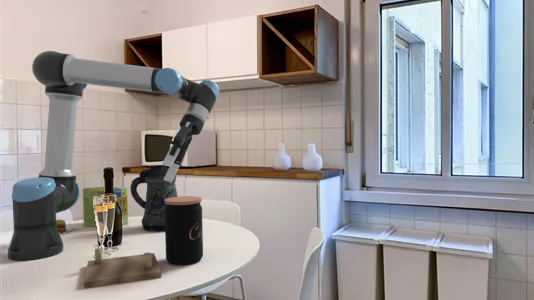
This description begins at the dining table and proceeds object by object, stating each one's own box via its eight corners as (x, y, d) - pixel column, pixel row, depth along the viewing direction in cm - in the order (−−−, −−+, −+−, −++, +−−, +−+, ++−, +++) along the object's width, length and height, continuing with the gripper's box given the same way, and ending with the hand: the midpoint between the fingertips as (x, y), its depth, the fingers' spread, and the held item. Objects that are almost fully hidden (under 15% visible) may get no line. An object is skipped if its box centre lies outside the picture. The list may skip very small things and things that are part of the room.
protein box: (108, 229, 158) (106, 190, 157) (83, 225, 165) (81, 188, 165) (128, 224, 167) (127, 187, 167) (104, 220, 175) (103, 185, 174)
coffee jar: (195, 267, 109) (193, 202, 109) (159, 265, 111) (157, 201, 111) (208, 255, 120) (207, 196, 119) (175, 254, 122) (173, 195, 121)
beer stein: (190, 228, 157) (189, 165, 156) (141, 235, 146) (139, 168, 146) (175, 221, 171) (173, 163, 170) (129, 227, 160) (127, 165, 159)
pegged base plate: (84, 288, 95) (83, 265, 95) (88, 266, 112) (87, 246, 112) (161, 277, 102) (160, 256, 101) (154, 258, 118) (153, 239, 118)
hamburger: (63, 237, 148) (62, 223, 148) (33, 237, 149) (33, 222, 149) (82, 230, 160) (81, 216, 159) (55, 230, 161) (54, 216, 161)
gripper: (207, 105, 124) (178, 162, 114) (202, 140, 146) (177, 190, 136) (184, 96, 123) (154, 152, 113) (183, 132, 145) (157, 182, 136)
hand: (167, 173), depth 125 cm, fingers open, 13 cm apart
